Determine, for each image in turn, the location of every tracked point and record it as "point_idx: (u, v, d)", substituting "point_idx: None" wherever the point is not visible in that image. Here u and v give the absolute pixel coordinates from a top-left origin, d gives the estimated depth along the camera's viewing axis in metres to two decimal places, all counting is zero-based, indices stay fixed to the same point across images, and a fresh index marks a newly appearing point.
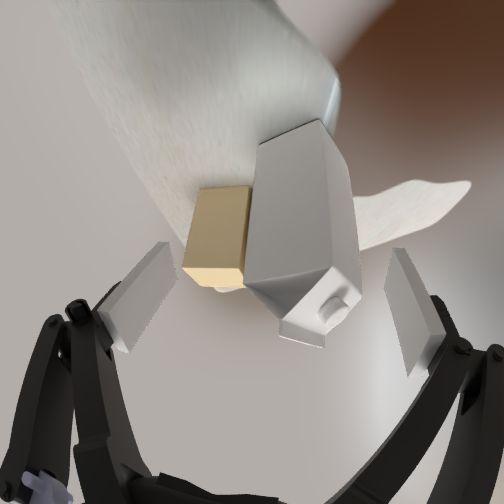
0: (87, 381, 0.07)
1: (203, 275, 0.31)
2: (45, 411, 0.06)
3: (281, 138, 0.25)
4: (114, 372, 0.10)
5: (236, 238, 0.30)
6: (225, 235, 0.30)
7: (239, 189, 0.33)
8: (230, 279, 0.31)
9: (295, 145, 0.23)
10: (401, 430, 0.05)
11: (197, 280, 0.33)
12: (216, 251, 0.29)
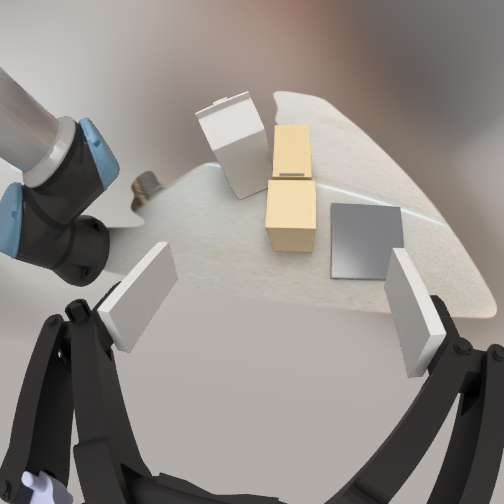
0: (87, 381, 0.07)
1: (285, 214, 0.33)
2: (45, 411, 0.06)
3: None
4: (114, 372, 0.10)
5: None
6: None
7: None
8: (294, 192, 0.33)
9: None
10: (401, 430, 0.05)
11: (298, 225, 0.32)
12: None
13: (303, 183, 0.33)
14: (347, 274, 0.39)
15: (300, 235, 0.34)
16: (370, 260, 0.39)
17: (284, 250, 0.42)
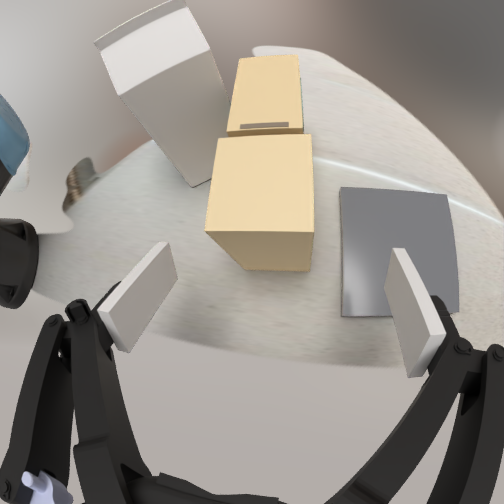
0: (87, 381, 0.07)
1: (246, 201, 0.15)
2: (45, 411, 0.06)
3: None
4: (114, 372, 0.10)
5: None
6: None
7: None
8: (267, 156, 0.16)
9: None
10: (401, 430, 0.05)
11: (274, 224, 0.14)
12: None
13: (286, 139, 0.16)
14: (370, 310, 0.21)
15: (283, 245, 0.17)
16: None
17: (261, 268, 0.24)
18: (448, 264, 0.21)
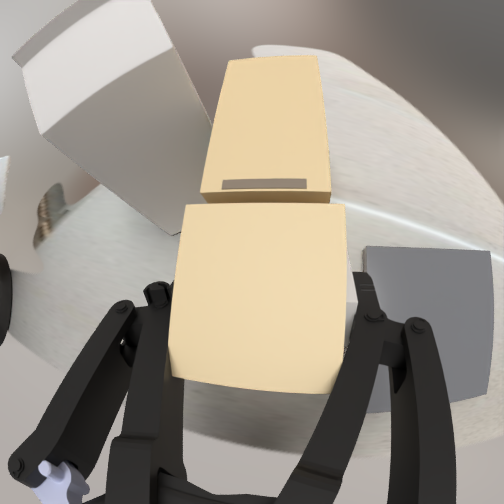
0: (149, 372, 0.08)
1: (230, 336, 0.09)
2: (87, 405, 0.07)
3: None
4: None
5: None
6: None
7: None
8: (268, 249, 0.09)
9: None
10: (329, 406, 0.06)
11: (276, 381, 0.08)
12: None
13: (302, 214, 0.09)
14: (389, 405, 0.15)
15: None
16: None
17: None
18: (484, 341, 0.14)
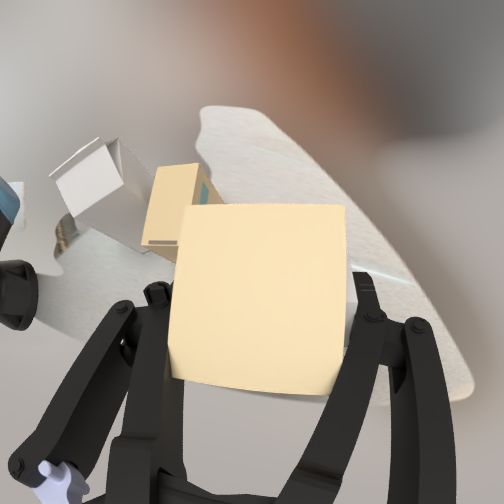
0: (149, 372, 0.08)
1: (230, 337, 0.09)
2: (87, 405, 0.07)
3: None
4: None
5: None
6: None
7: None
8: (268, 250, 0.09)
9: None
10: (329, 406, 0.06)
11: (276, 382, 0.08)
12: None
13: (302, 215, 0.09)
14: None
15: None
16: None
17: None
18: None
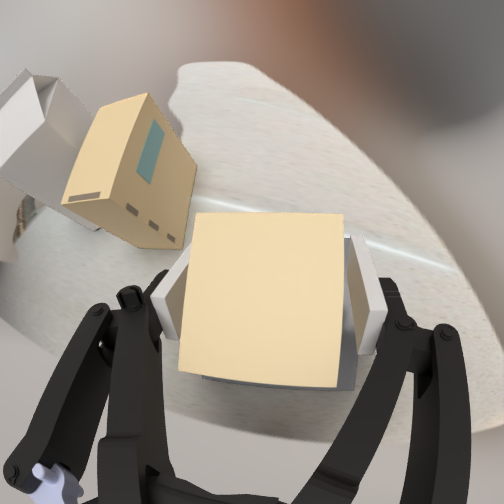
0: (128, 374, 0.08)
1: (238, 334, 0.10)
2: (72, 405, 0.07)
3: None
4: (159, 365, 0.10)
5: None
6: None
7: None
8: (273, 255, 0.10)
9: None
10: (354, 412, 0.06)
11: (279, 375, 0.09)
12: None
13: (304, 224, 0.10)
14: None
15: None
16: None
17: None
18: (344, 332, 0.19)
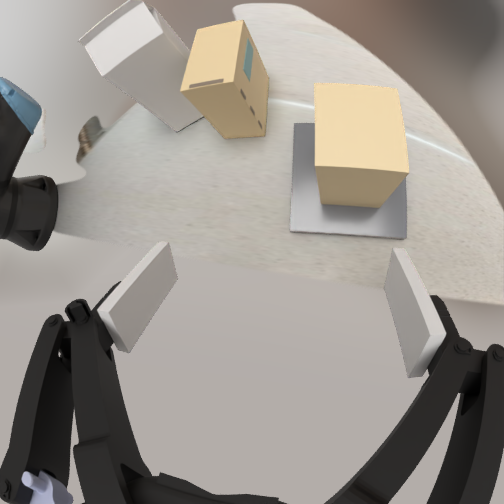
0: (87, 381, 0.07)
1: (351, 141, 0.15)
2: (45, 411, 0.06)
3: None
4: (114, 372, 0.10)
5: None
6: None
7: None
8: (363, 104, 0.15)
9: None
10: (401, 430, 0.05)
11: (377, 163, 0.15)
12: None
13: (377, 91, 0.15)
14: (313, 226, 0.26)
15: (375, 182, 0.17)
16: (351, 206, 0.25)
17: (337, 202, 0.25)
18: (396, 192, 0.24)
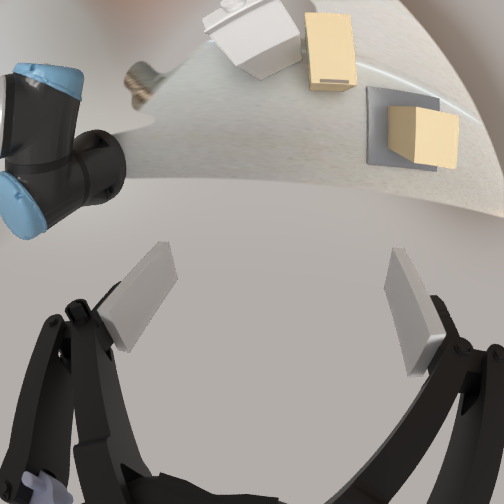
0: (87, 381, 0.07)
1: (432, 150, 0.24)
2: (45, 411, 0.06)
3: None
4: (114, 372, 0.10)
5: (405, 111, 0.25)
6: (404, 121, 0.26)
7: (389, 113, 0.31)
8: (440, 126, 0.22)
9: None
10: (401, 430, 0.05)
11: (442, 163, 0.24)
12: (409, 128, 0.25)
13: (448, 117, 0.21)
14: (383, 162, 0.36)
15: None
16: None
17: None
18: None
